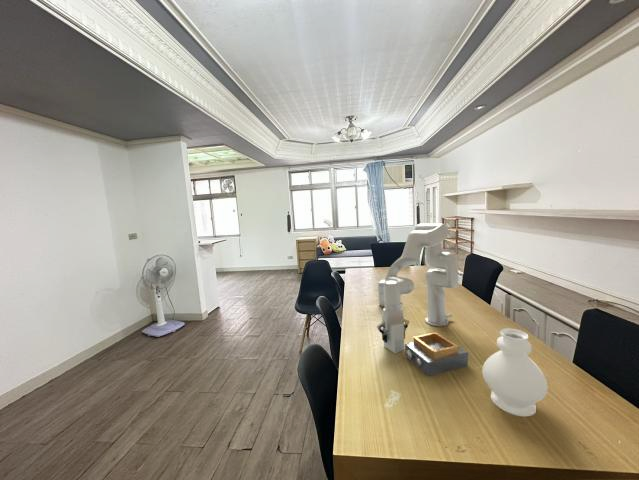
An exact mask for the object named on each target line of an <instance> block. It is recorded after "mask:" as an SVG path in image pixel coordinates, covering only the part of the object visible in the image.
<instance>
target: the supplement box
mask: <svg viewBox="0 0 639 480" xmlns="http://www.w3.org/2000/svg"><path fill="white" fill-rule="evenodd" d="M384 283H385V279H381V280H380V281H378V282H377V288H378V289H377V290H378V291H377V292H378V306H379V305H381V307H385V300H384Z"/></svg>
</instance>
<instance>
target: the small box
mask: <svg viewBox="0 0 639 480" xmlns="http://www.w3.org/2000/svg"><path fill="white" fill-rule="evenodd" d="M404 324H405V323H404ZM404 324H398V325H393V326H391V330H390V331H388V332H387V333H386V335H387V343H385V342H384V341H383V347H384V348H386V349H388V350H389V351H391V352H392V353H394V354H397V353H399V352H403V351H405V339H404ZM385 330H386V329H385Z"/></svg>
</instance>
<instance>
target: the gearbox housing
mask: <svg viewBox="0 0 639 480" xmlns="http://www.w3.org/2000/svg"><path fill="white" fill-rule="evenodd" d="M404 348H405V350H404V352H405V353H404V356H405V358H407V360H409V361H411V363H413V364H414V366H416V367H417V369H420V370H421V371H422V373H424V374H425V375H426V376H427V377H429V376H434V375H438V374H442V373H445V372H448V371H452V370H456V369H459V368H460V369H461V368H463V367H467V366H469V352H468V351H467V350H465V349H463V348H462V347H460V346H459V345H457V344H456V343H454V342H452V341H451V340H449V339H447V338H446V337H445V336H442V335H441V334H439V333H437V332H436V331H434V332H430V333H425V334H420V335H417V336H413V341H411V342H406V343H404Z"/></svg>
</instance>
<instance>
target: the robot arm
mask: <svg viewBox="0 0 639 480" xmlns="http://www.w3.org/2000/svg"><path fill="white" fill-rule="evenodd" d="M449 231H450V230H449V227H448V225H447V224H445V223H440V222H438V223H436V222H435V223H434V222H433V223H432V222H431V223H429V222H426V223H423V222H422V223H419V224H417V225H416V226H415V228H414V230H413V231H410V232H409V233H408V236H407V239H406V241H405V244H404V248H403V252H402V254H401V256H400V257H399V258H397V259H396V260H395V261H394V262H393V263H392V264H391V265H390V267H389V268H388V270H387V273H386V276H385V279H384V280H385V283H384V300H385V306H384V308H383V309H382V312H381V313H382V315H381V322H380V323H379V324H378V325H376V328H377V330H378V332H380V334H381V337H382V338H381V339H382V341H383V343H384V342H385V343H387V335H386V333H387V332H388V331H390V330H391V326H393V325H398V324H404V340H405V339H406V331H407V329H408V327H409V324H410V320H408V319H406V318H404V312H403V308H402V306H403V305H404V303H403V302H402V301H401V300H402V299H401V298H402V297H401V295H402V296H403V295H409V294H410V293H412V292H414V288H415V283H414V281H413V280H412V279H410V278H407V277H402V276H398V274H399V273H400V272H401V270H402V269H404V268H407V267H409V266H411V265H412V266H413V265H415V264H417V263H419V260H420V257H421V253H422V251H423V248H425V254H426V255H425V256H426V263H427V264H426V265H428V267H430V268H429V269H428V270H426V272H425V274H424V279H425V280H424V281H425V284H426V290H427V291H426V293H427V298H426V300H427V303H426V304H427V316H426V317H425V318H424V321H425V323H426V324H427V325H431V326H432V327H433V326H434V327H446V326H447V325H449V320H448V318H452V317H453V314H452V313H447V312H446V292H445V289H456V288H457V287H458V286H459V279H460V278H459V263H458V258H457V256H456V254H455V253H453V252H451V251H450V252H449V251H443V244H442V242H443V241H445V240H446V239H447V238H448V236H449V233H450V232H449ZM444 288H445V289H444ZM385 329H386V330H385Z"/></svg>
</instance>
